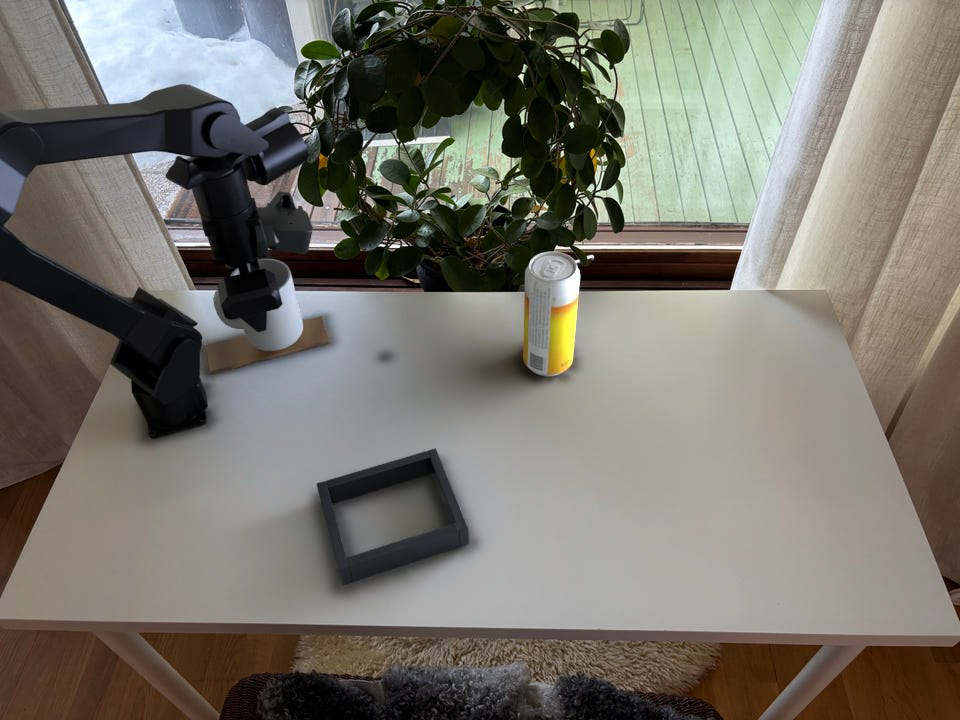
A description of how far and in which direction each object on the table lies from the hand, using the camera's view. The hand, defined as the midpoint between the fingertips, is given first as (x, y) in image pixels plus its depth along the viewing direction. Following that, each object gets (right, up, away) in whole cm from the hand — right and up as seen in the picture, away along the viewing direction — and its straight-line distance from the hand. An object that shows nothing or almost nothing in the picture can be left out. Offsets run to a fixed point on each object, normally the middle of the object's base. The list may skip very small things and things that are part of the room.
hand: (257, 311), depth 96 cm
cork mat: (0, -4, +4) cm, 6 cm away
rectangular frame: (+18, -23, -15) cm, 33 cm away
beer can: (+36, -6, +1) cm, 36 cm away
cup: (0, -3, +3) cm, 4 cm away
